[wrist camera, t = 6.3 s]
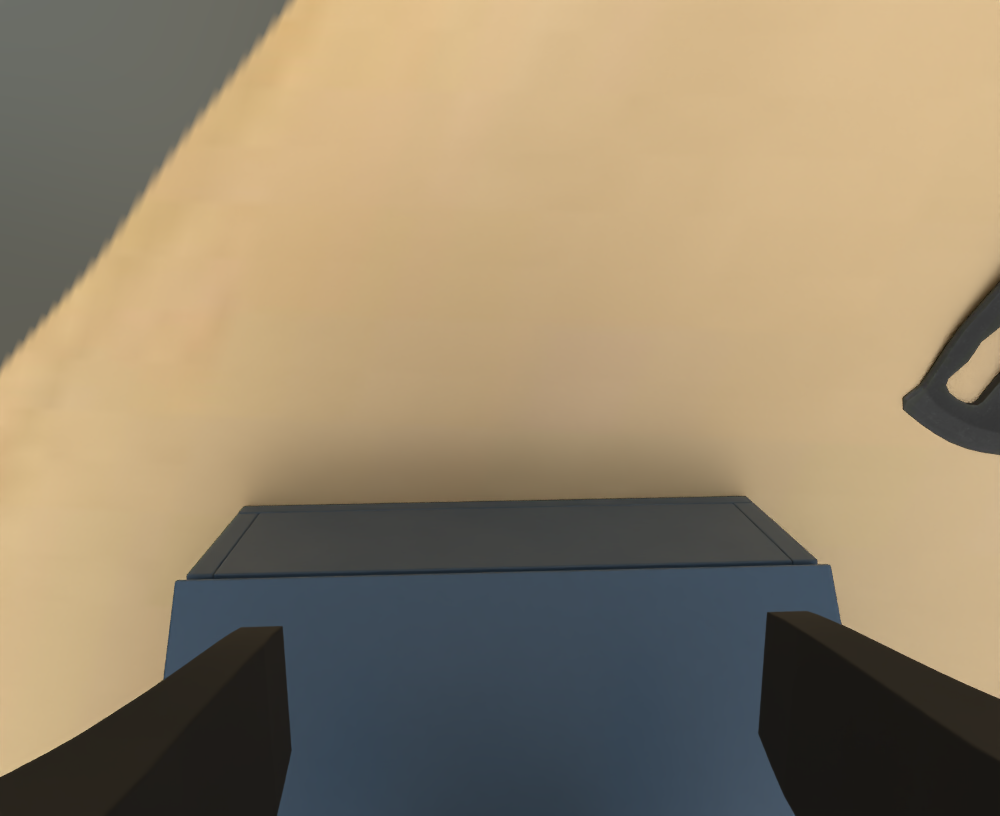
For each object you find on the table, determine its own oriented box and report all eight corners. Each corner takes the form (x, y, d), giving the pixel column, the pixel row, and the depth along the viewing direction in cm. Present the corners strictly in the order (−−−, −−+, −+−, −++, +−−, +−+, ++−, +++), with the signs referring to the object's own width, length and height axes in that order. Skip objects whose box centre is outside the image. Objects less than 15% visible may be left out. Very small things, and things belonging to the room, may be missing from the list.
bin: (720, 886, 25) (777, 1028, 20) (274, 905, 24) (231, 1057, 20) (746, 495, 22) (818, 559, 18) (243, 505, 21) (185, 574, 17)
